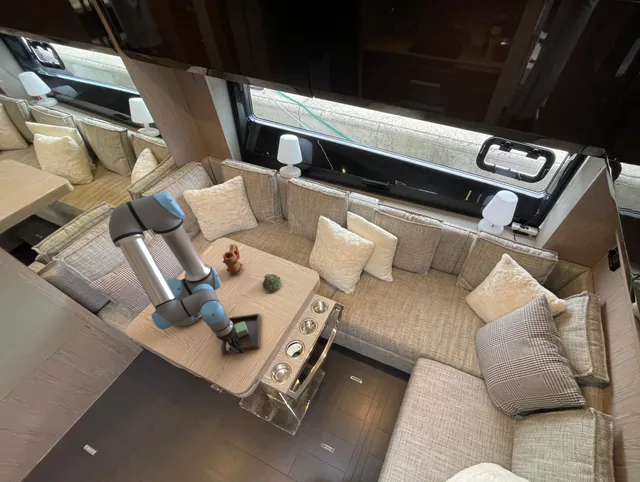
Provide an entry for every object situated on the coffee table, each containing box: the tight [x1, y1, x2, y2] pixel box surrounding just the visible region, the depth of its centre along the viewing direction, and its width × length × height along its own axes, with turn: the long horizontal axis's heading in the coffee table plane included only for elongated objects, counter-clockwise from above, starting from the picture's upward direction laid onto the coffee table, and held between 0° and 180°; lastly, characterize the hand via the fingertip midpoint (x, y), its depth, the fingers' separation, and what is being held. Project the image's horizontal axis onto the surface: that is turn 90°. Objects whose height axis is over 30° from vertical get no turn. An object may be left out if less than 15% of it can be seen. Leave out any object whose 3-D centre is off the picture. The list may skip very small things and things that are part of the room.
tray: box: [220, 313, 261, 355], centre depth 136 cm, size 17×18×3 cm
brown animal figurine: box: [222, 243, 243, 276], centre depth 159 cm, size 15×8×15 cm, turn 179°
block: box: [234, 321, 249, 338], centre depth 135 cm, size 5×5×5 cm
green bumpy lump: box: [262, 273, 282, 294], centre depth 156 cm, size 10×7×10 cm
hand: (240, 351), depth 130 cm, fingers closed
